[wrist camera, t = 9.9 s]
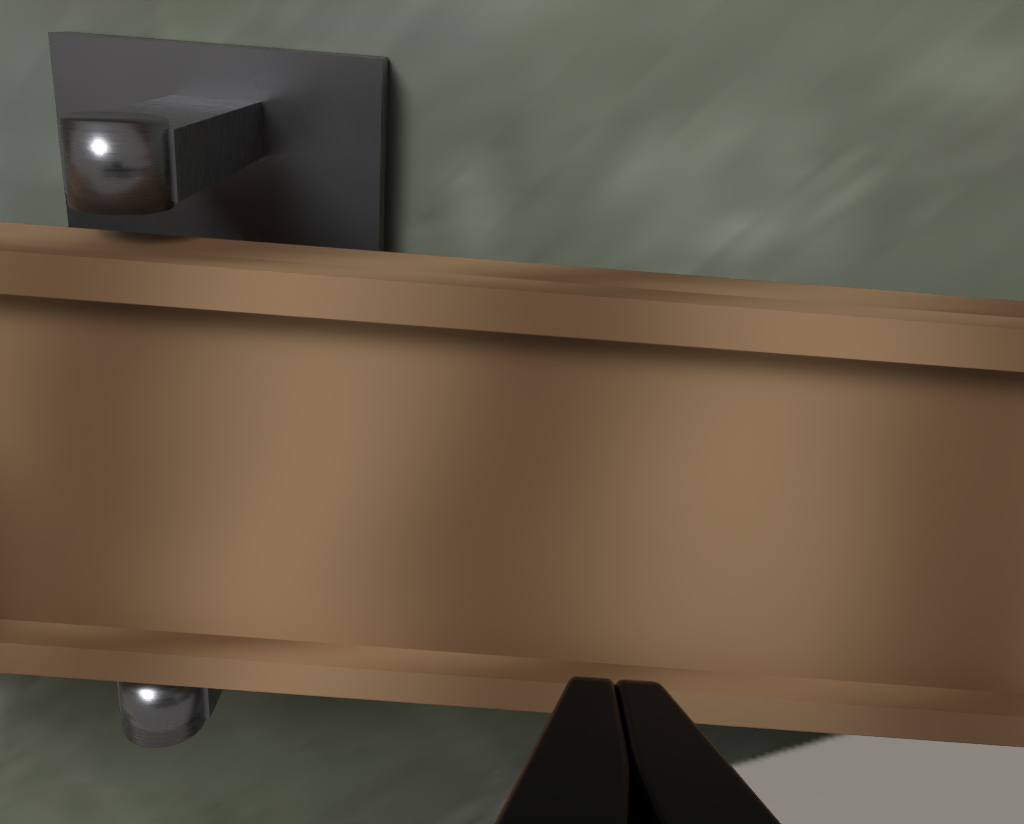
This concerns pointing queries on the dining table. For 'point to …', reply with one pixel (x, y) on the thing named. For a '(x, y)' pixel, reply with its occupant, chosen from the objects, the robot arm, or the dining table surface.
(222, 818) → the dining table surface
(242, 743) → the dining table surface
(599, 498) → the balance beam
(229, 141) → the stand
